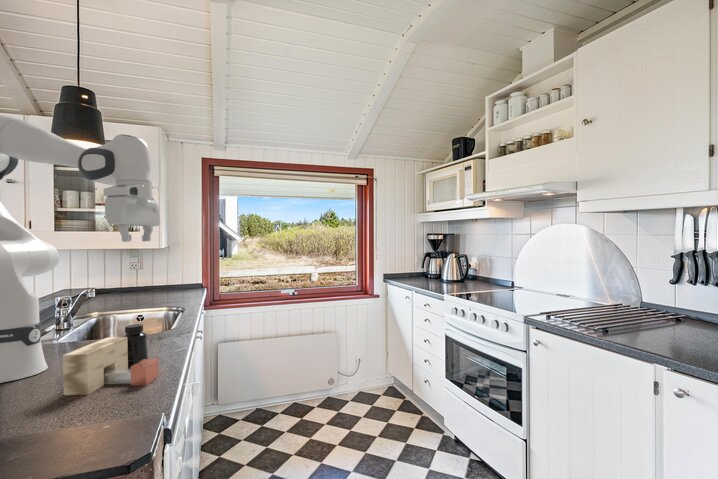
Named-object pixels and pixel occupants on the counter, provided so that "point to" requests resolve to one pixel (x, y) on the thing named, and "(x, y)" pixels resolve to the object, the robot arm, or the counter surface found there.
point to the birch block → (93, 364)
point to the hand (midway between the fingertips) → (137, 241)
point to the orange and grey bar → (134, 374)
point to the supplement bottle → (136, 344)
